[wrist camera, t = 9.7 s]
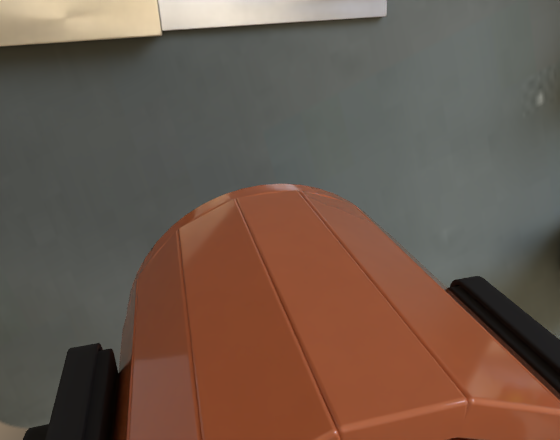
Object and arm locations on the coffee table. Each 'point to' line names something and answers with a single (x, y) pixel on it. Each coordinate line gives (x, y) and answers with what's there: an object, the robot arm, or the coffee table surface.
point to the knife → (159, 17)
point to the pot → (310, 335)
